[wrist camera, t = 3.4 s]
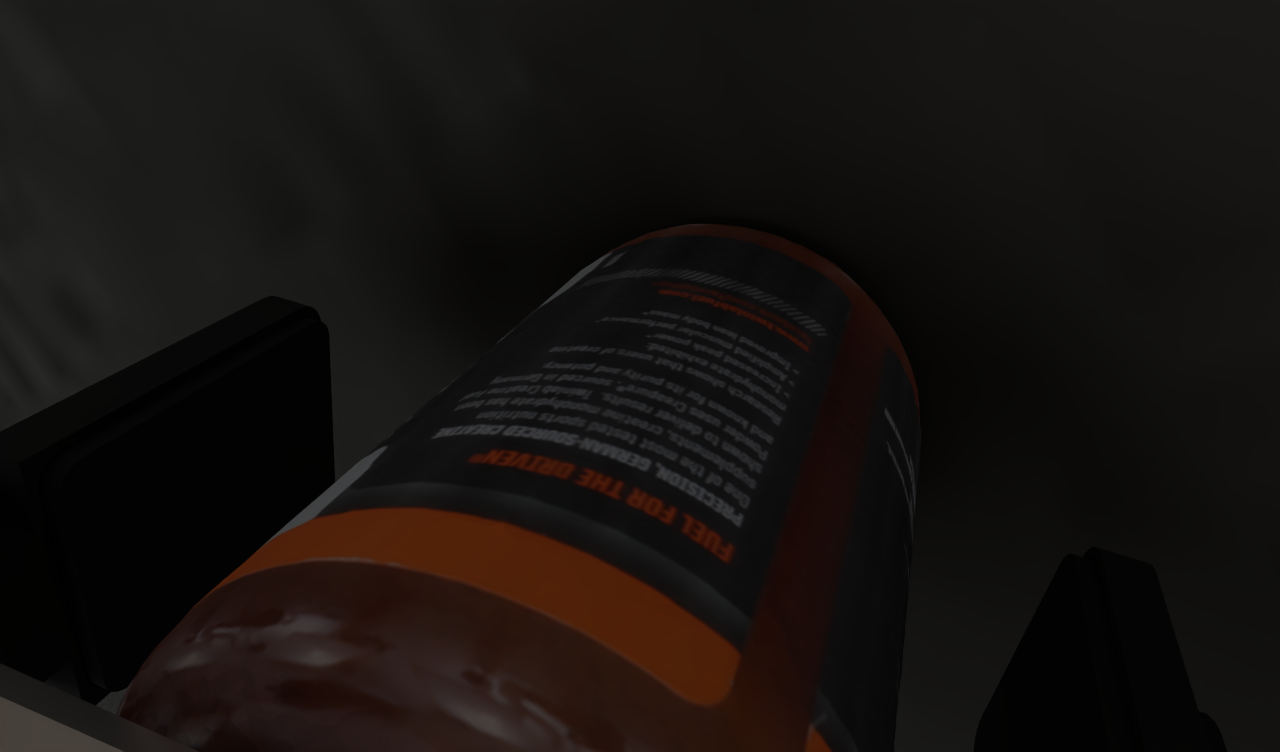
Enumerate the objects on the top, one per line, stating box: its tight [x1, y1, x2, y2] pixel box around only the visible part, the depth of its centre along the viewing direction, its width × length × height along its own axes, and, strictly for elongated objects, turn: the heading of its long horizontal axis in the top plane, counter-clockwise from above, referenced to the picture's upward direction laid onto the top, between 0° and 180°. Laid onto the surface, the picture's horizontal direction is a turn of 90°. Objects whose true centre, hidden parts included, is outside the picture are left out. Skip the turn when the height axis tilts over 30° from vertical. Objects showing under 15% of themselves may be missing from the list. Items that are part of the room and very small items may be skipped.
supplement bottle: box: [117, 224, 921, 752], centre depth 9 cm, size 6×6×11 cm
